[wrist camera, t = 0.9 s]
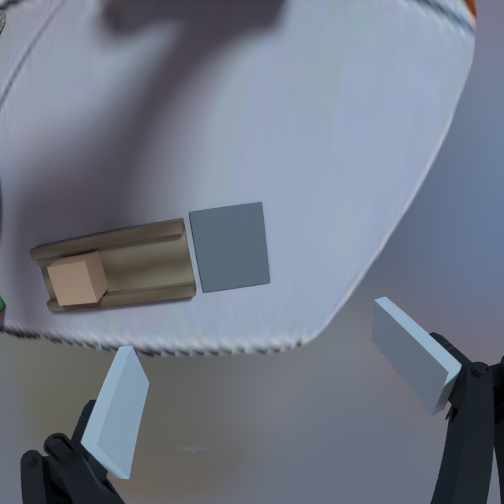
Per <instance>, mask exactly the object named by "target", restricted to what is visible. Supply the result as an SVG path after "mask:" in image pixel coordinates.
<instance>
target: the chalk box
mask: <svg viewBox="0 0 504 504" xmlns="http://www.w3.org/2000/svg"><path fill="white" fill-rule="evenodd" d="M4 308H5V304H4V302H3V300H2V299H1V297H0V312H1V311H2V310H3V309H4Z"/></svg>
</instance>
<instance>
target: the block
mask: <svg viewBox="0 0 504 504" xmlns="http://www.w3.org/2000/svg"><path fill="white" fill-rule="evenodd" d="M47 270H48V273H49V276H50V279H51V282H52V286H53V289H54V291H55V294H56V297H57V300H58V303H59V305H60V306H63V305H74V304H84V303H94V302H98V301H99V299H100V298H101V297H102V295H103V294H104V293H105V292H106V290H107V289H108V288H109V286H108V283H107V280H106V276H105V273H104V269H103V265H102V262H101V258H100V254H99V250H96V251H90V252H85V253H79V254H74V255H68V256H63V257H61V258H60V259H58V260H57V261H55V262H54V263H53V264H51V265H50V266H48V267H47Z"/></svg>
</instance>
